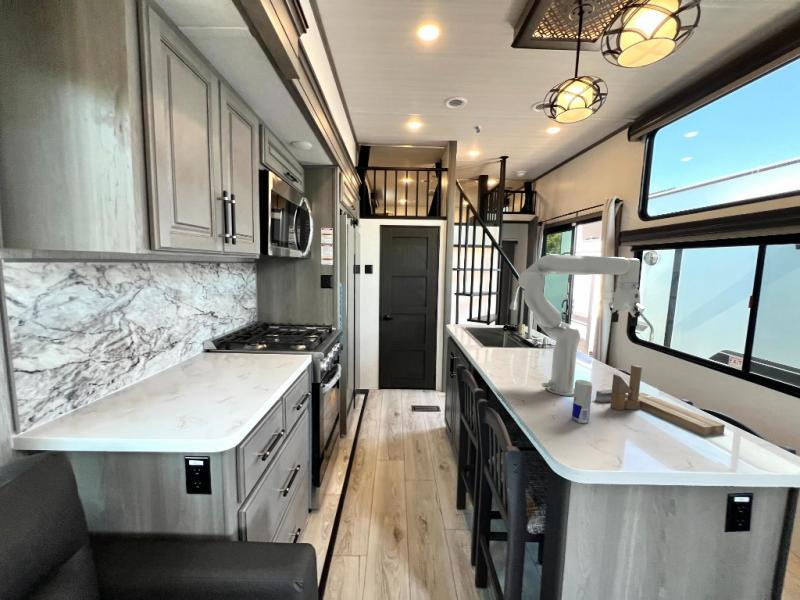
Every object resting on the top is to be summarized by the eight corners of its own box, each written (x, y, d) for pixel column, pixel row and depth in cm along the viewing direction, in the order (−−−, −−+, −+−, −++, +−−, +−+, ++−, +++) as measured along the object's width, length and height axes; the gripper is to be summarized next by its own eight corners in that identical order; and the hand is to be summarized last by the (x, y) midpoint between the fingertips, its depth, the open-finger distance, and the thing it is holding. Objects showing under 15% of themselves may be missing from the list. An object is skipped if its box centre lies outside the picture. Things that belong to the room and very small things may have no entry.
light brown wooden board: (703, 435, 114) (704, 427, 114) (624, 400, 143) (625, 394, 143) (723, 432, 117) (724, 424, 116) (642, 399, 145) (643, 392, 145)
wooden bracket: (609, 406, 136) (614, 364, 134) (632, 405, 138) (636, 364, 136) (617, 410, 133) (621, 367, 131) (639, 409, 134) (644, 367, 132)
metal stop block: (601, 402, 140) (602, 393, 140) (595, 399, 143) (596, 390, 143) (620, 400, 143) (620, 391, 142) (613, 398, 146) (614, 389, 145)
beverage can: (587, 418, 124) (590, 380, 123) (590, 425, 119) (594, 385, 117) (570, 416, 126) (574, 378, 124) (573, 422, 121) (576, 383, 119)
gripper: (652, 287, 139) (648, 327, 141) (617, 285, 156) (614, 320, 157) (638, 287, 137) (634, 327, 139) (604, 285, 154) (601, 320, 156)
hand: (623, 323), depth 148 cm, fingers open, 9 cm apart
